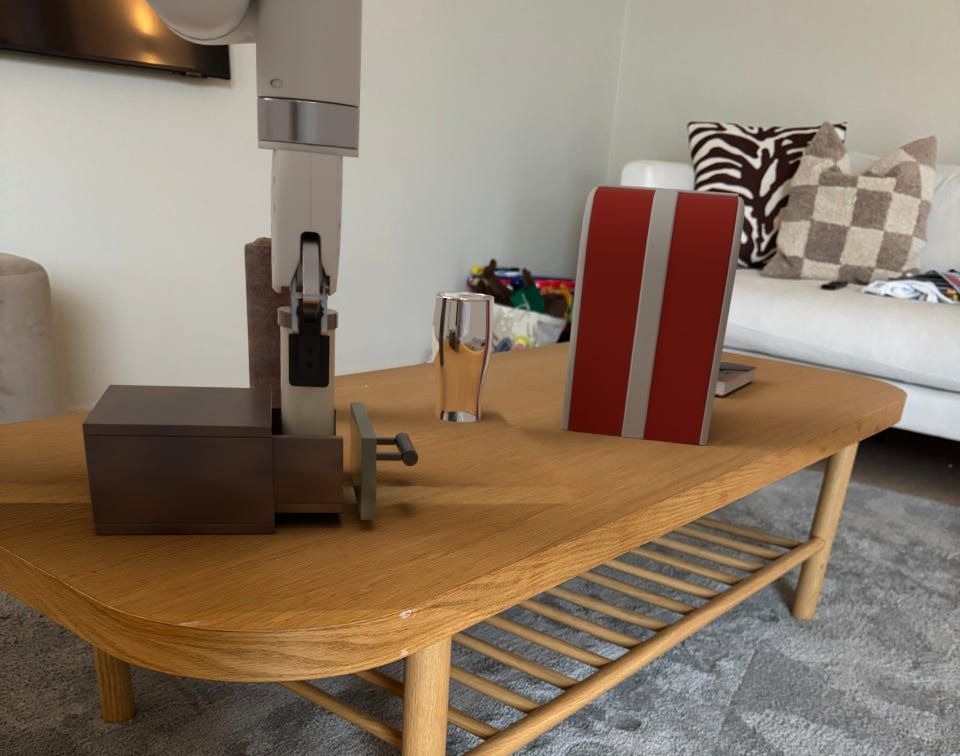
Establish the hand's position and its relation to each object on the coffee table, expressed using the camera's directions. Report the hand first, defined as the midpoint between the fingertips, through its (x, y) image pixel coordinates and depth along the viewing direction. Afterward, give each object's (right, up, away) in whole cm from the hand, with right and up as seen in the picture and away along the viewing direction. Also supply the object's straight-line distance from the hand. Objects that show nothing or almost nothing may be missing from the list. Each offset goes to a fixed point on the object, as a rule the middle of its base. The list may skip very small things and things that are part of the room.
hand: (307, 376), depth 79 cm
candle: (-8, +2, +29) cm, 30 cm away
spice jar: (0, -4, +2) cm, 5 cm away
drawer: (0, -9, +5) cm, 10 cm away
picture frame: (+44, +19, +71) cm, 86 cm away
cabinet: (-10, -10, +3) cm, 15 cm away
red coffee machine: (+34, +6, +42) cm, 55 cm away
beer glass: (+12, +3, +33) cm, 35 cm away
